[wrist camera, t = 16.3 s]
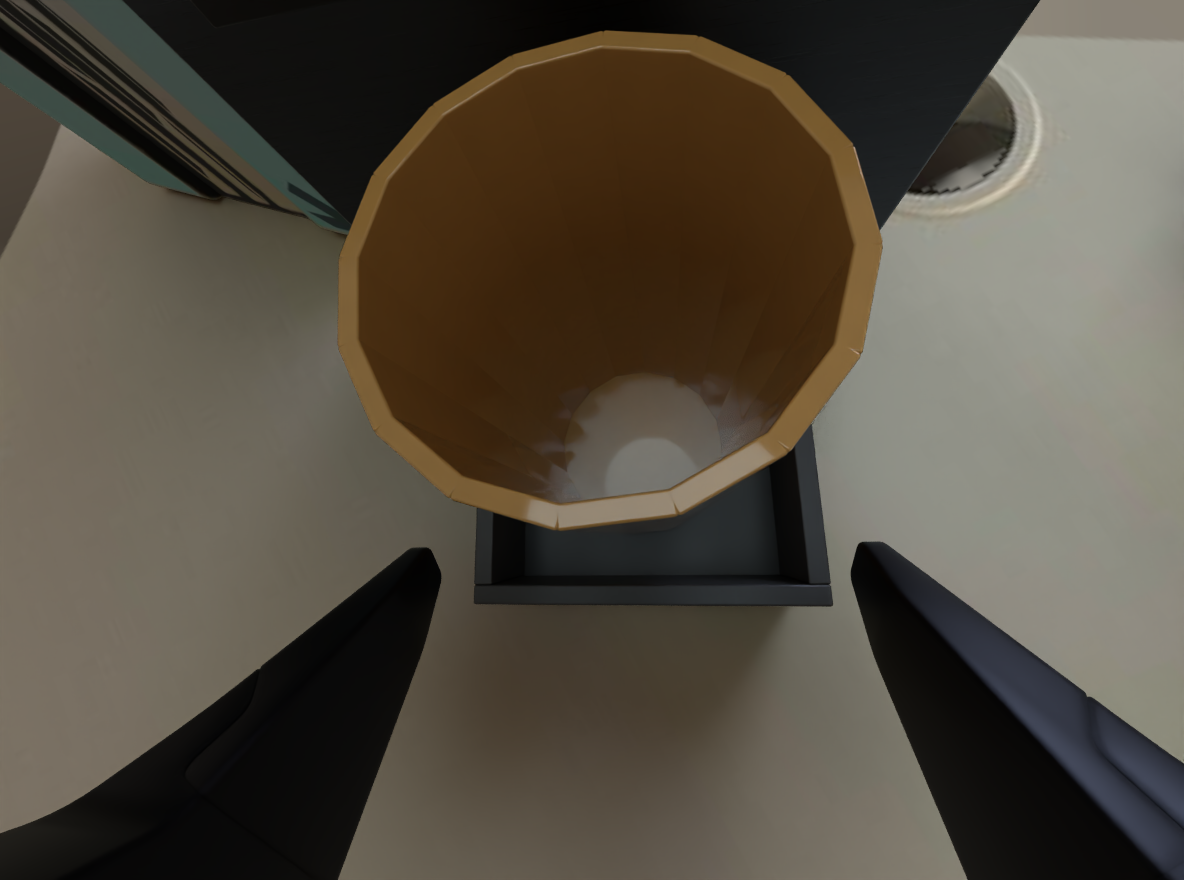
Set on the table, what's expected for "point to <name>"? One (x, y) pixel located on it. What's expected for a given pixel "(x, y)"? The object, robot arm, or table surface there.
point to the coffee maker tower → (557, 13)
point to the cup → (608, 281)
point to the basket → (673, 552)
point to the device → (144, 105)
